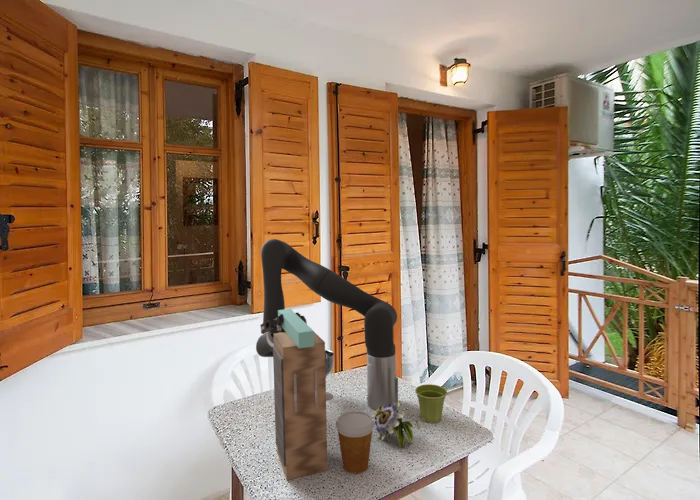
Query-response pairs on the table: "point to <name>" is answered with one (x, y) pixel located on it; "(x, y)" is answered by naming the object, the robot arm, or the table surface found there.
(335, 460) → the table surface
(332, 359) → the wine glass
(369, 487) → the table surface
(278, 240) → the robot arm
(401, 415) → the passion flower
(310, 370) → the tall wooden pillar block
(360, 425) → the disposable coffee cup
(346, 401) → the table surface
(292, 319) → the rail
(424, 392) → the plant pot
